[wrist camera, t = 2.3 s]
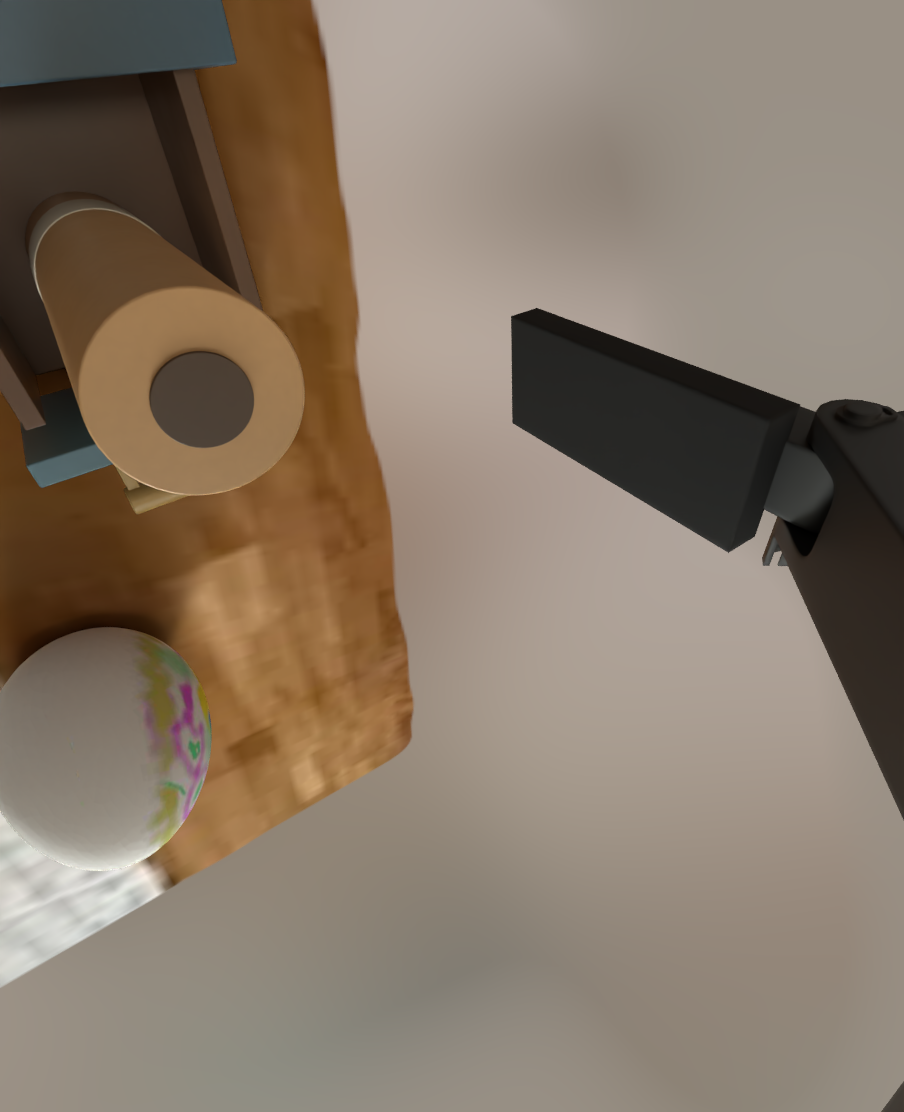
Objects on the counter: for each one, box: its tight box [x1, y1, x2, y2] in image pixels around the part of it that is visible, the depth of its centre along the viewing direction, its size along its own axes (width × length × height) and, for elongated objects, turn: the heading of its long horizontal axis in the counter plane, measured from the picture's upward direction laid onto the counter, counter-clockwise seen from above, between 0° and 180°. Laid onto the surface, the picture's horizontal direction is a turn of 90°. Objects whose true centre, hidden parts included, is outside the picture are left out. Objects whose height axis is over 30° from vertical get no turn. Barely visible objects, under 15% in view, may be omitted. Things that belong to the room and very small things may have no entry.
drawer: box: [0, 68, 263, 514], centre depth 27 cm, size 19×12×8 cm, turn 6°
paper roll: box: [25, 191, 305, 495], centre depth 21 cm, size 5×5×20 cm
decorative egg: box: [0, 627, 211, 871], centre depth 36 cm, size 12×12×15 cm
